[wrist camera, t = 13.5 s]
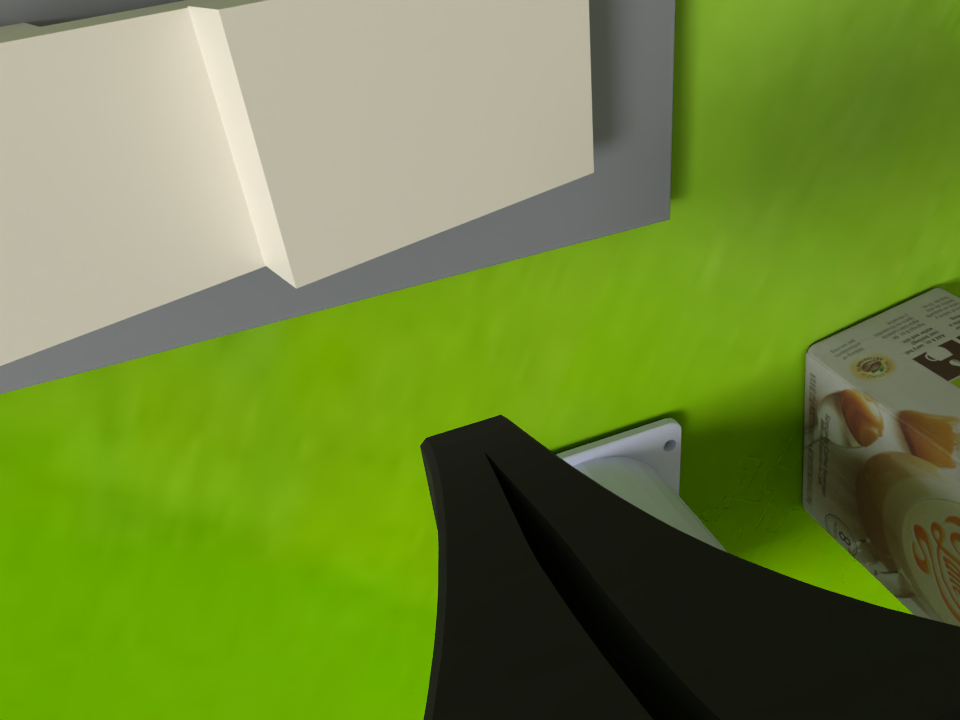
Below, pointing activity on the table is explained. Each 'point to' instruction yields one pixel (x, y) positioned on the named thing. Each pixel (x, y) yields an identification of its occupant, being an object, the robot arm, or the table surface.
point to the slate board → (470, 246)
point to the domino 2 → (393, 116)
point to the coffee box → (891, 448)
